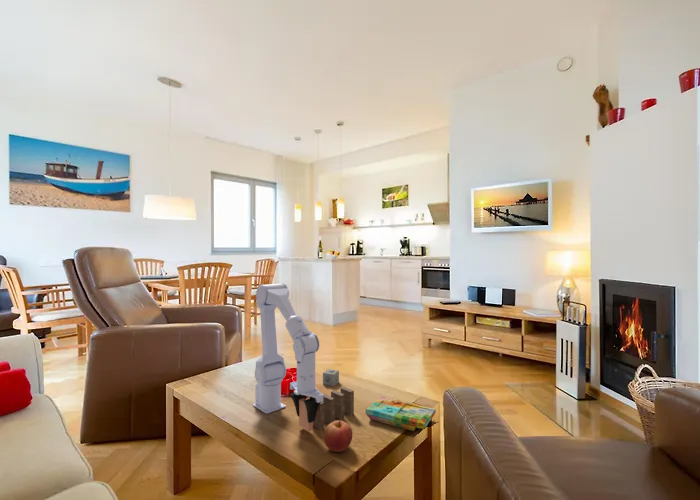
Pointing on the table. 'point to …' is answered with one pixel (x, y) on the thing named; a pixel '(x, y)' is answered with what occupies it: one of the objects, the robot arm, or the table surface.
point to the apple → (338, 436)
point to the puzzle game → (400, 413)
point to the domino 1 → (304, 416)
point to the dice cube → (330, 377)
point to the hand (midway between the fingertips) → (306, 418)
